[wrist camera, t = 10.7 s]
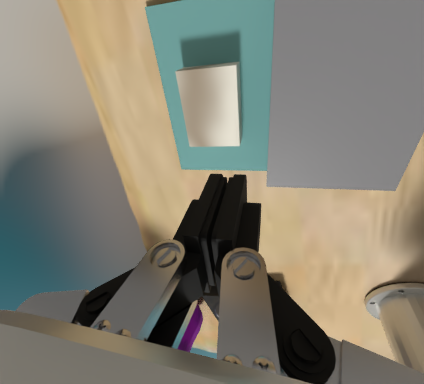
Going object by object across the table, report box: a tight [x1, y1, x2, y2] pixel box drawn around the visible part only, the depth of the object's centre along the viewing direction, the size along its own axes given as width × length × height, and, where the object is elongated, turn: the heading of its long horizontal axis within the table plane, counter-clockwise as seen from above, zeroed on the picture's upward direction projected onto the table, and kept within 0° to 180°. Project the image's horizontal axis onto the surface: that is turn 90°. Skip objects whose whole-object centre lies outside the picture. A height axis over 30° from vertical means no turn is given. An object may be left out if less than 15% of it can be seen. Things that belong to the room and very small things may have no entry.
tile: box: [175, 62, 242, 147], centre depth 24 cm, size 6×8×2 cm
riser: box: [267, 0, 424, 191], centre depth 20 cm, size 13×18×4 cm
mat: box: [145, 0, 275, 171], centre depth 25 cm, size 12×18×1 cm, turn 7°
